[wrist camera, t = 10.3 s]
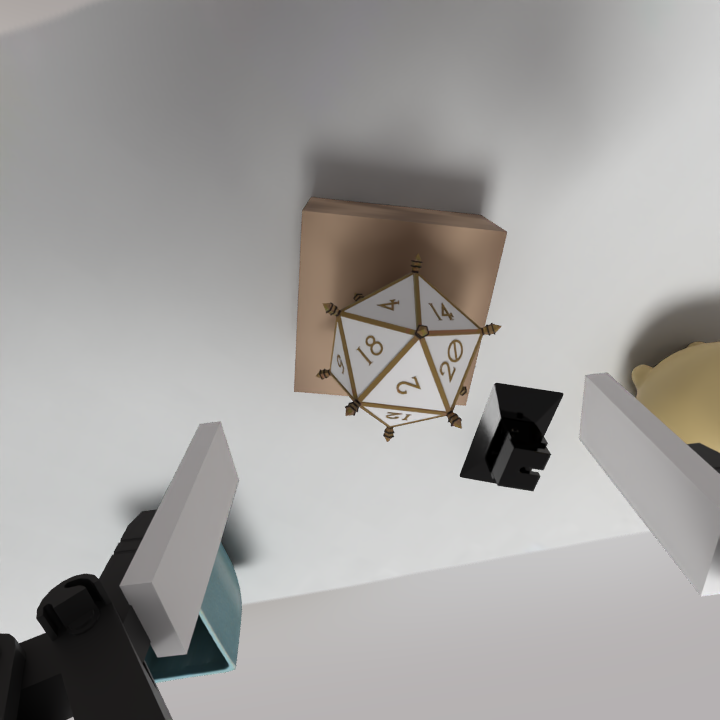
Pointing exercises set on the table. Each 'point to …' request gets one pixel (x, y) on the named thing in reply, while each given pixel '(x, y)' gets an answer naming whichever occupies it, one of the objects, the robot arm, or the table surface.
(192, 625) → the robot arm
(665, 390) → the toy pig
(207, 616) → the flower pot
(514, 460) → the black angular block
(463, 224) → the walnut block
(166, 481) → the table surface
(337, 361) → the game die
